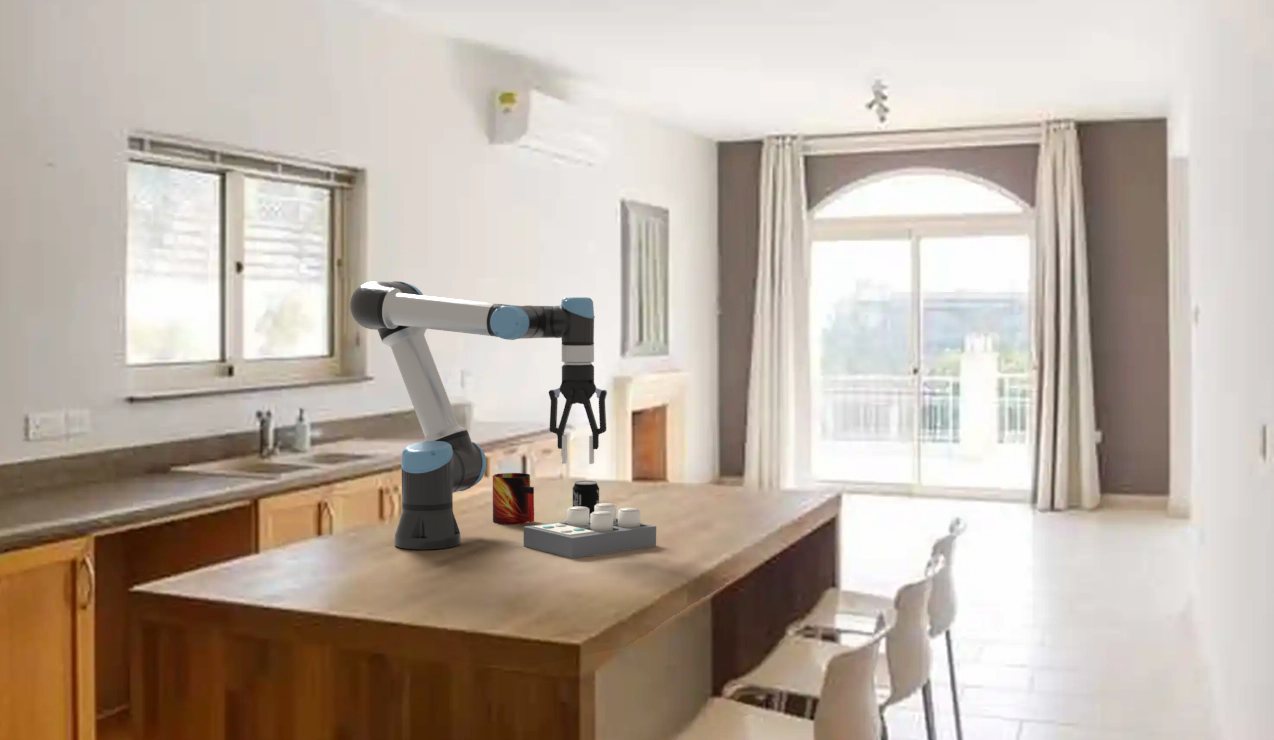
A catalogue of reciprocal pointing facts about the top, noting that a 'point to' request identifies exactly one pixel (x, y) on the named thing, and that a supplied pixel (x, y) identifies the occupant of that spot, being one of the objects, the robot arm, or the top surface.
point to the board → (587, 539)
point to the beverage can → (586, 494)
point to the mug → (512, 499)
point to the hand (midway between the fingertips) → (578, 462)
